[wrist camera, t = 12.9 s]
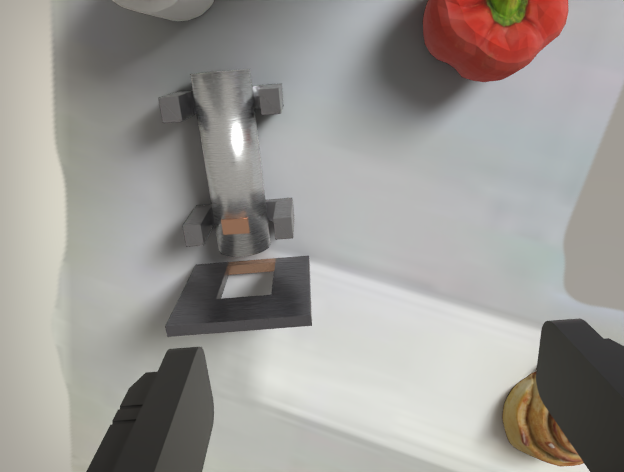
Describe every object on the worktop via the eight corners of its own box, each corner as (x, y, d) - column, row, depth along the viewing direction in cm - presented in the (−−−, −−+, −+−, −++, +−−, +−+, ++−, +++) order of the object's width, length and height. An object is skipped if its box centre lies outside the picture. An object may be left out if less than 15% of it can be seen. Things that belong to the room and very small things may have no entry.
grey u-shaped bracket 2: (196, 205, 47) (182, 225, 42) (292, 197, 47) (291, 217, 42) (199, 223, 48) (186, 246, 42) (294, 216, 48) (293, 238, 42)
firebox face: (195, 264, 50) (165, 326, 38) (308, 255, 49) (311, 315, 38) (197, 273, 50) (167, 336, 39) (309, 264, 50) (311, 325, 39)
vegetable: (408, -49, 39) (441, -81, 30) (532, -65, 39) (603, -102, 30) (413, 85, 43) (444, 94, 34) (525, 72, 43) (586, 77, 34)
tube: (199, 72, 42) (182, 75, 37) (254, 68, 42) (244, 70, 37) (225, 237, 48) (213, 258, 43) (273, 235, 48) (266, 255, 43)
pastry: (608, 339, 55) (657, 385, 47) (609, 436, 60) (653, 491, 52) (495, 363, 55) (525, 412, 48) (505, 456, 61) (534, 513, 53)
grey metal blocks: (176, 91, 43) (158, 97, 38) (281, 83, 43) (278, 88, 38) (180, 114, 44) (162, 123, 38) (283, 105, 44) (281, 113, 38)
